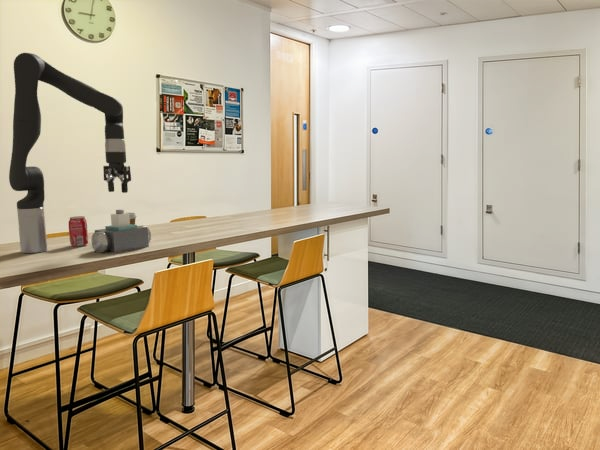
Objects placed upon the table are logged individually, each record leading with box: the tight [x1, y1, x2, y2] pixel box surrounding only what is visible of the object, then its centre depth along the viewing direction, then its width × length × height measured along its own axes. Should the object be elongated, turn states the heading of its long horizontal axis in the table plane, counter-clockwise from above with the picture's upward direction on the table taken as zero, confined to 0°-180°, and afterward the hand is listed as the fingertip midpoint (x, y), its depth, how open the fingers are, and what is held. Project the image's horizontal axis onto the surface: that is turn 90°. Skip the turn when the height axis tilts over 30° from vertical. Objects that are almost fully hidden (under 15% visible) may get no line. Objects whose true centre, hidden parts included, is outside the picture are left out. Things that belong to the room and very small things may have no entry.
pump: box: [110, 209, 130, 227], centre depth 203 cm, size 5×5×8 cm
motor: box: [91, 224, 152, 254], centre depth 204 cm, size 12×22×9 cm, turn 145°
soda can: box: [68, 215, 89, 248], centre depth 212 cm, size 7×7×12 cm
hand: (118, 192), depth 202 cm, fingers open, 8 cm apart
